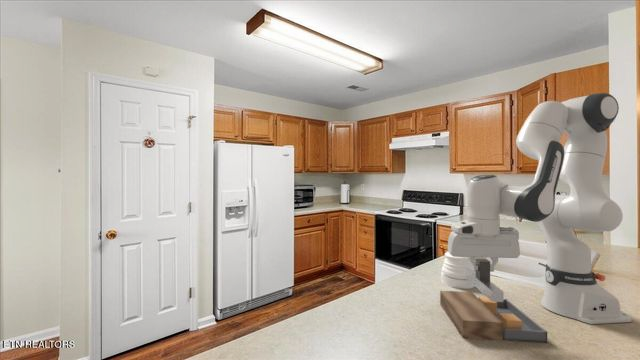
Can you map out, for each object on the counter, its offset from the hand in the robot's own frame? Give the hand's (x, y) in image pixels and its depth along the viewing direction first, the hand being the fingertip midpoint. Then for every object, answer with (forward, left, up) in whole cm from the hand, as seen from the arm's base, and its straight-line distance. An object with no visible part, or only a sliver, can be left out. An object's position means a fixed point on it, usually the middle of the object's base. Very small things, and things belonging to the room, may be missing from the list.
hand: (482, 270), depth 87 cm
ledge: (+4, 0, -16) cm, 17 cm away
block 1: (-2, -5, -13) cm, 15 cm away
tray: (-7, 0, -16) cm, 17 cm away
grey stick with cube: (0, 0, -6) cm, 6 cm away
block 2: (-3, +6, -13) cm, 15 cm away
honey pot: (-4, -32, -16) cm, 36 cm away
